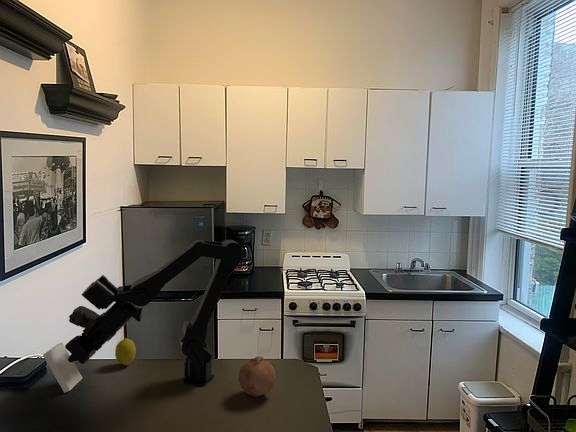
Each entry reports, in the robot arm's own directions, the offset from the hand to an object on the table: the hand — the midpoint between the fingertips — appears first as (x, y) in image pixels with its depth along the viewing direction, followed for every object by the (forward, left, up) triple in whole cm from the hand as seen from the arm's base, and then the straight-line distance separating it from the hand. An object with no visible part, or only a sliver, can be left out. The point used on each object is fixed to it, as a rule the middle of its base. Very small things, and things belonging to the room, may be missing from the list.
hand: (69, 360), depth 116 cm
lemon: (-4, -16, -7) cm, 18 cm away
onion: (-46, -14, -7) cm, 49 cm away
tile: (-1, 0, -6) cm, 7 cm away
